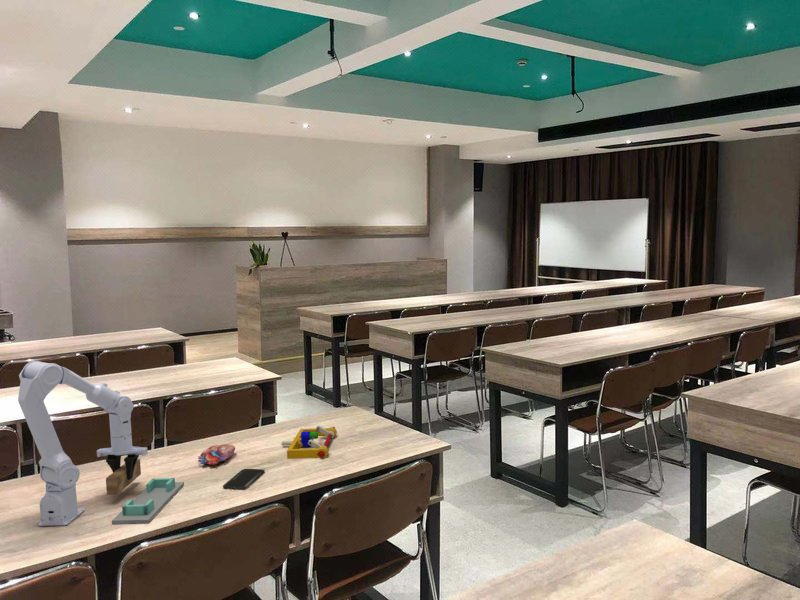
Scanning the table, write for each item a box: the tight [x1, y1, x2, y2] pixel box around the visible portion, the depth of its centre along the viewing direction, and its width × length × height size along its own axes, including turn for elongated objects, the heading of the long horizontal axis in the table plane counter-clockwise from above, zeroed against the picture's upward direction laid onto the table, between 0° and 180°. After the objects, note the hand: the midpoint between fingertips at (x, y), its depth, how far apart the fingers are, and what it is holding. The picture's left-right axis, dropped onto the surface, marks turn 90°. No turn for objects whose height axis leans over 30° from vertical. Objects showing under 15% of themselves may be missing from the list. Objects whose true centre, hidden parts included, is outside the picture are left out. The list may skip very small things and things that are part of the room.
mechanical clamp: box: [281, 425, 337, 460], centre depth 227 cm, size 18×6×30 cm
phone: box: [222, 468, 265, 491], centre depth 195 cm, size 8×1×15 cm
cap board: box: [111, 477, 185, 525], centre depth 180 cm, size 26×10×4 cm, turn 179°
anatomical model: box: [197, 443, 236, 466], centre depth 213 cm, size 11×6×15 cm
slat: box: [105, 458, 142, 496], centre depth 188 cm, size 16×3×5 cm, turn 179°
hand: (124, 478), depth 188 cm, fingers closed on slat, 3 cm apart
